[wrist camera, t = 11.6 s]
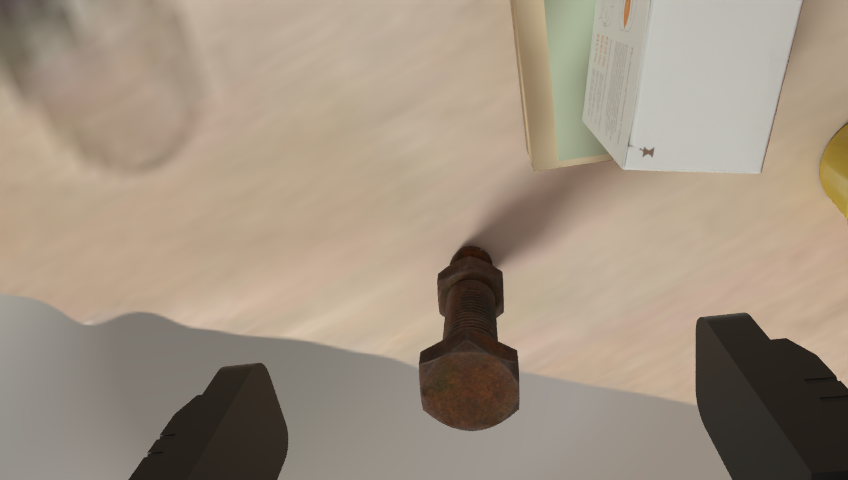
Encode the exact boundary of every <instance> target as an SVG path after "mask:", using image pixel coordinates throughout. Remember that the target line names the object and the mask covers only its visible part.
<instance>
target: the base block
mask: <svg viewBox="0 0 848 480" xmlns="http://www.w3.org/2000/svg"><path fill="white" fill-rule="evenodd" d="M510 2H511V11H512V20H513V29H514V38H515V47H516V56H517V65H518V74H519V82H520V91H521V100H522V109H523V118H524V127H525V136H526V145H527V151H528V155H529V158H530V161H531V164H532V167H533V170H534V171H540V170H547V169H553V168H560V167H567V166H574V165H581V164H588V163H595V162H601V161H608V160H614V159H613V157H612V156H611V155H610V154H609V152H608V151H607V150H606V149H605V148H604V146H603V145H602V144H601V143H600V142H599V140H598V139H597V138H596V137H595V136H594V134H593V133H592V132H591V131H590V130H589V128H588V127H587V126H586V125H585V123H584V122H583V121H582V116H583V109H584V100H585V92H586V84H587V74H588V65H589V57H590V49H591V40H592V31H593V22H594V14H595V5H596V0H510Z"/></svg>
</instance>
